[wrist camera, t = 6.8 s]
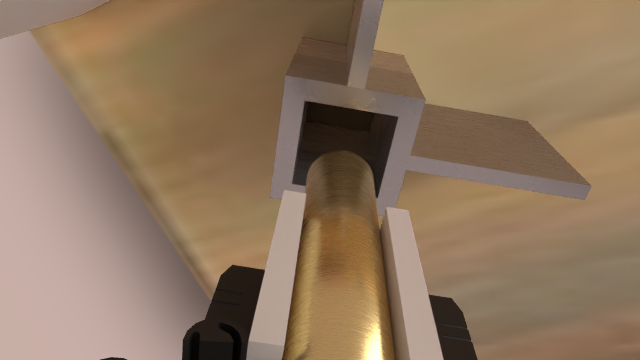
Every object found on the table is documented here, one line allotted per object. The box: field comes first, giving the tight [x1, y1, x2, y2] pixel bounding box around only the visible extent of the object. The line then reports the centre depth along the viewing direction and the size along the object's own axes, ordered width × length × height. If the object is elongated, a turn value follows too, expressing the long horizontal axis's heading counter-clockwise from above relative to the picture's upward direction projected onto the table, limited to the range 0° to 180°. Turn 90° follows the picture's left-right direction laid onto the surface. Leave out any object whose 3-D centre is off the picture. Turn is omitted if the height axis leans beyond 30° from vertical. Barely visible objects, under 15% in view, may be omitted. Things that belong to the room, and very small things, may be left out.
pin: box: [282, 150, 395, 360], centre depth 14 cm, size 3×3×13 cm
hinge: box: [270, 0, 592, 216], centre depth 24 cm, size 15×15×9 cm
